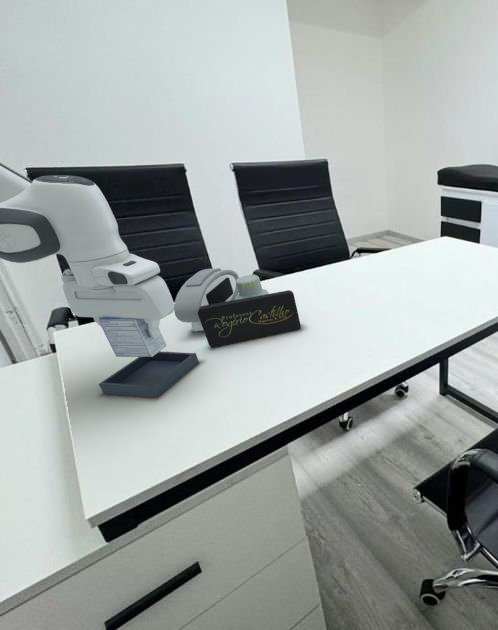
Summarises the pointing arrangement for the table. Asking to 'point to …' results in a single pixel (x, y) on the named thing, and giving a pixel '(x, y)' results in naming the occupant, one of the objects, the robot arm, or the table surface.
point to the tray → (149, 375)
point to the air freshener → (249, 287)
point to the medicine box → (130, 337)
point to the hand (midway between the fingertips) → (134, 335)
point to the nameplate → (249, 318)
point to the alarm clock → (204, 293)
